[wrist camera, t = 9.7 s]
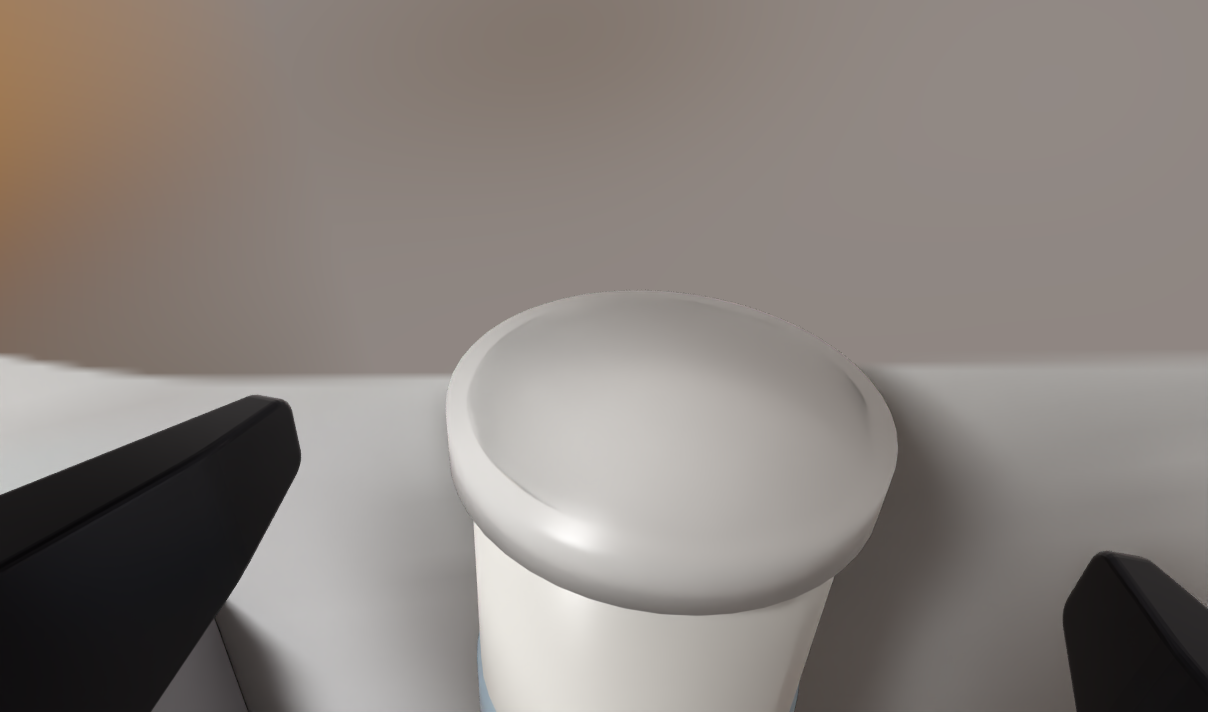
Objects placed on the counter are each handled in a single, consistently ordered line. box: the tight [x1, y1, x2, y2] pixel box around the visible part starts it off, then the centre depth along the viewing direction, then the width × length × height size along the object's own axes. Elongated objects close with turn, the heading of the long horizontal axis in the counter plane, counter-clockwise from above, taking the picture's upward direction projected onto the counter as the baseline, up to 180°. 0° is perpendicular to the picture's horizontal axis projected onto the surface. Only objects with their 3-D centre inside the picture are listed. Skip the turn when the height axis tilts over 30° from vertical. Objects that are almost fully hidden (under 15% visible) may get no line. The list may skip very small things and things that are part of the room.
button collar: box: [152, 619, 248, 712], centre depth 17 cm, size 7×7×3 cm
